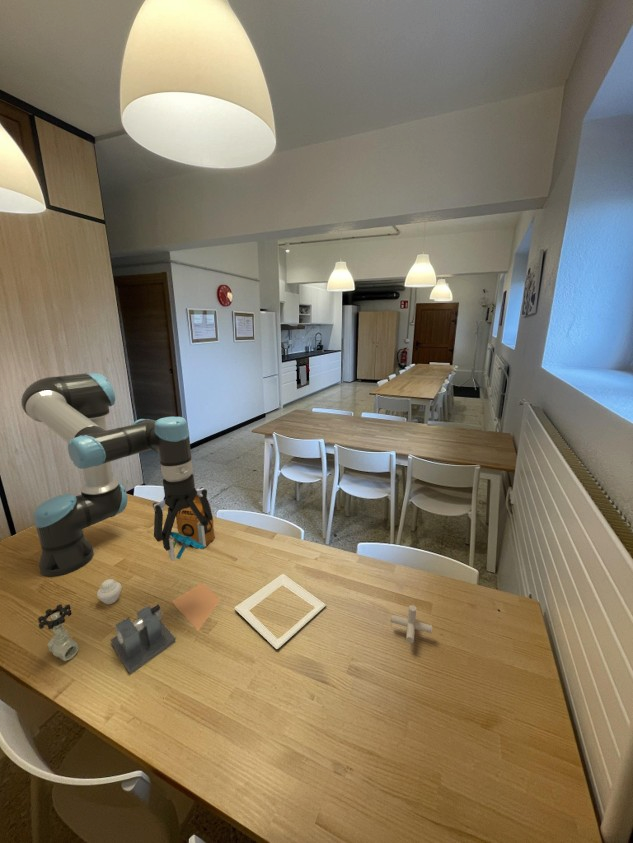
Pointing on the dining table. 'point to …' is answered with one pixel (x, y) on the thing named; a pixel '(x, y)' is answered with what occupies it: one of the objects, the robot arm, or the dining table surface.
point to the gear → (184, 542)
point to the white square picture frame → (267, 590)
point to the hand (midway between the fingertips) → (187, 551)
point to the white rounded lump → (109, 591)
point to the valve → (59, 633)
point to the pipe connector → (411, 624)
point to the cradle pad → (197, 604)
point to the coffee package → (193, 523)
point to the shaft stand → (141, 638)
